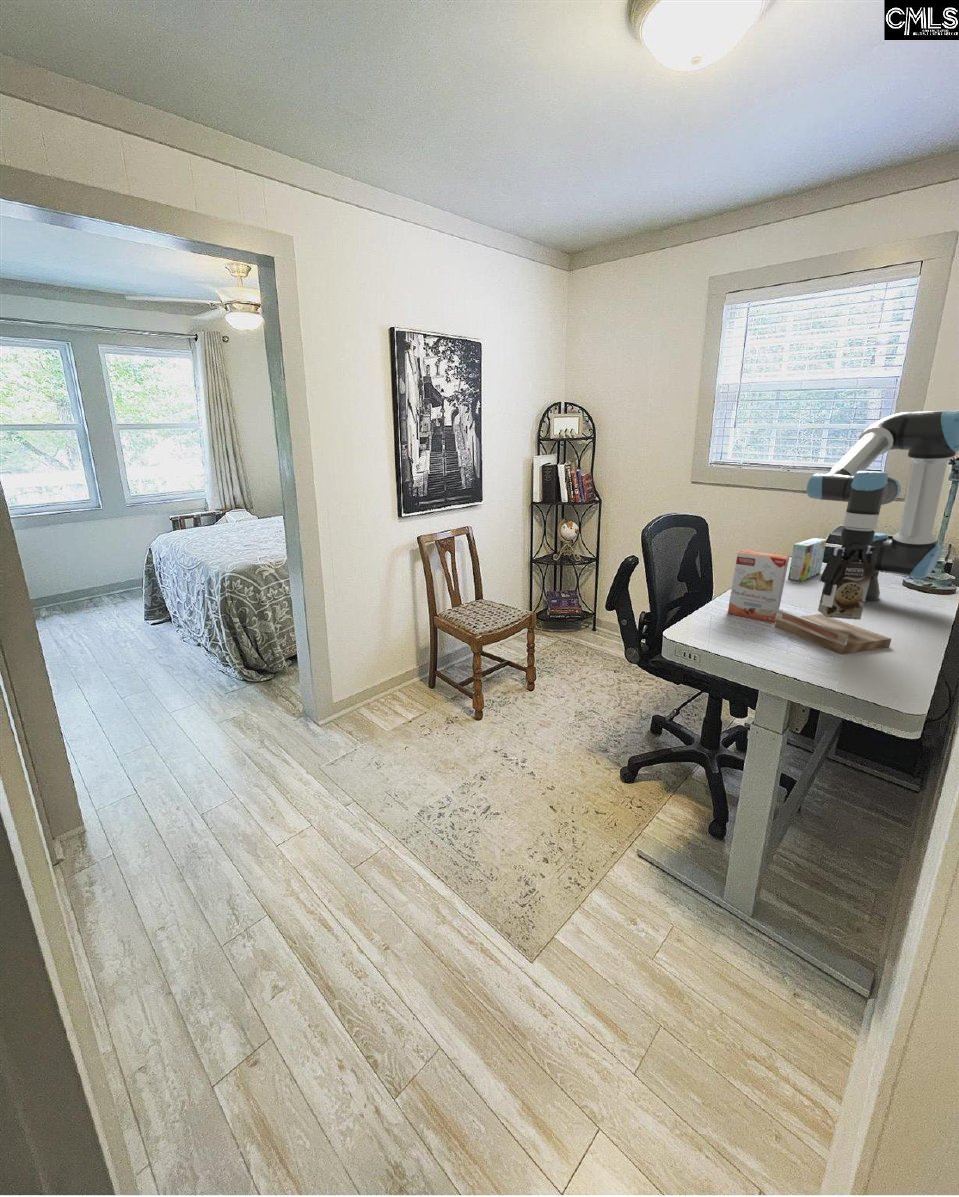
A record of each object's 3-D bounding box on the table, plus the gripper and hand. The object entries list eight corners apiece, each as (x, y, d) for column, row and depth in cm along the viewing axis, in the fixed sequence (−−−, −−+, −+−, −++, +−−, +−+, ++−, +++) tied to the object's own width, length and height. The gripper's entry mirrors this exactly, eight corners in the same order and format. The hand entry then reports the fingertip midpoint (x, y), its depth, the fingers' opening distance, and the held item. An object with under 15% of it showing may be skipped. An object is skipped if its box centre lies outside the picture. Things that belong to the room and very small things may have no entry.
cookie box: (826, 617, 151) (838, 563, 146) (817, 610, 157) (828, 558, 152) (861, 620, 149) (875, 564, 144) (851, 613, 155) (863, 559, 150)
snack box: (806, 571, 230) (813, 537, 226) (820, 574, 226) (828, 539, 221) (786, 579, 217) (793, 543, 213) (801, 582, 213) (808, 545, 209)
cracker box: (726, 614, 173) (736, 551, 167) (731, 609, 177) (741, 548, 171) (774, 623, 165) (786, 558, 158) (777, 618, 169) (790, 555, 163)
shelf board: (819, 621, 167) (822, 604, 165) (889, 647, 147) (894, 628, 145) (774, 626, 162) (777, 610, 160) (840, 654, 142) (845, 635, 140)
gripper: (875, 524, 152) (858, 597, 159) (815, 527, 145) (799, 603, 152) (902, 529, 145) (883, 604, 152) (840, 532, 139) (822, 611, 145)
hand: (841, 604), depth 152 cm, fingers closed on cookie box, 10 cm apart
